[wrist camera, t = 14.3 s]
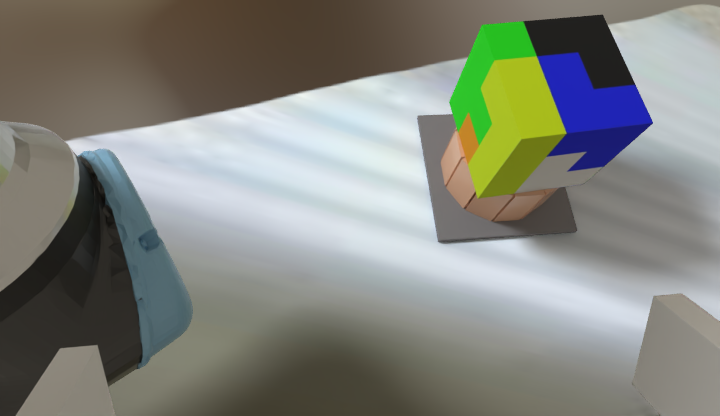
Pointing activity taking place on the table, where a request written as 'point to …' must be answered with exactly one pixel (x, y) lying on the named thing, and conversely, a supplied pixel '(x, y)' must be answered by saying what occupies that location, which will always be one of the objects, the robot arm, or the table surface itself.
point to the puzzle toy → (544, 104)
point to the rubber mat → (467, 225)
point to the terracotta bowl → (489, 207)
